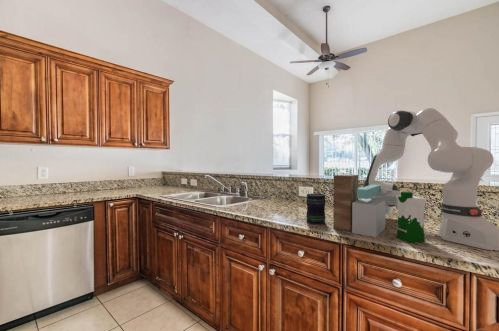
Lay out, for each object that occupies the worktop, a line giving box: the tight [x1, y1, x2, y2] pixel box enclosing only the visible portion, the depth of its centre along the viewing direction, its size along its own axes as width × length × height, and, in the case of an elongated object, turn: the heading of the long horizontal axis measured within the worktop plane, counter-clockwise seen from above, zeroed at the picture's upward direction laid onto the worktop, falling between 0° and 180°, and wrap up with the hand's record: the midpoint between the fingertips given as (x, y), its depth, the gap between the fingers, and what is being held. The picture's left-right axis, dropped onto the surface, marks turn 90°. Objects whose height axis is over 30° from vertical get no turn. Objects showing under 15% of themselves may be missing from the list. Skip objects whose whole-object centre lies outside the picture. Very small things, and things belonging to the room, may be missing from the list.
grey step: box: [351, 198, 386, 238], centre depth 114 cm, size 18×10×14 cm, turn 140°
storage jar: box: [305, 192, 326, 226], centre depth 129 cm, size 10×10×15 cm
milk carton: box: [396, 191, 428, 244], centre depth 100 cm, size 9×9×20 cm
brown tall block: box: [332, 173, 359, 233], centre depth 119 cm, size 12×8×26 cm, turn 140°
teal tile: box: [357, 184, 381, 199], centre depth 114 cm, size 26×4×4 cm, turn 140°
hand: (374, 188), depth 121 cm, fingers closed on teal tile, 4 cm apart
